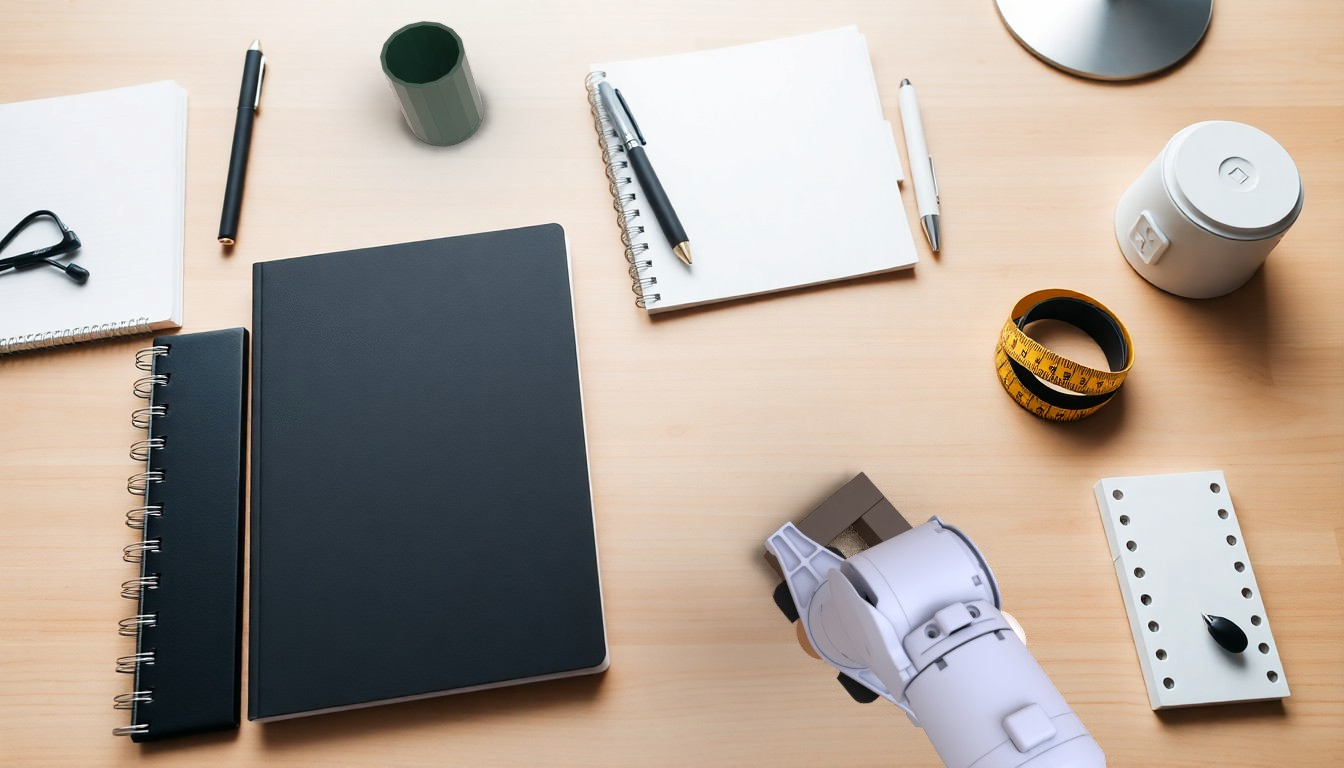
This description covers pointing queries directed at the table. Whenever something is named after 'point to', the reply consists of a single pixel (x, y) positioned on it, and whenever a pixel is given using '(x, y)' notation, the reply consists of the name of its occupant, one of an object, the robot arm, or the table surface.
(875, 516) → the pod dock
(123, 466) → the table surface
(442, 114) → the coffee cup
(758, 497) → the table surface
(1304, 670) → the table surface
